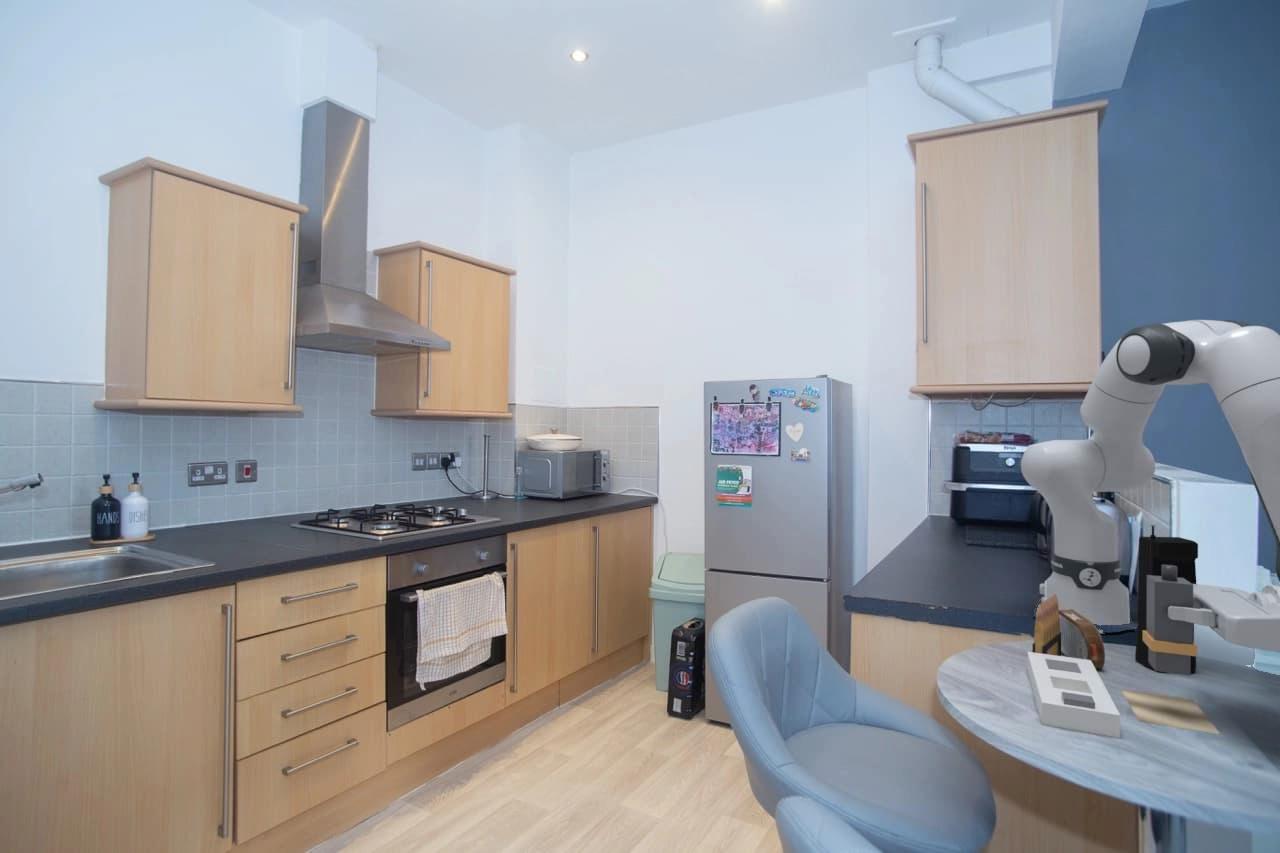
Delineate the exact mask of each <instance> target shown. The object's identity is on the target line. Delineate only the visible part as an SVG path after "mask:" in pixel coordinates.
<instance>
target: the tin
mask: <svg viewBox="0 0 1280 853" xmlns="http://www.w3.org/2000/svg"><path fill="white" fill-rule="evenodd" d="M1059 617H1060V632H1061V655H1062V656H1064V655H1065V656H1064V657H1071V658H1078V659H1086V660H1091V661H1092V663H1093V665H1094V667H1095V669H1096V670H1103V669H1104V666H1105V664H1106V653H1105V652H1106V651H1105V646H1104V642H1103V638H1102V635H1101V633H1099V631H1098V629H1097V628H1096V626H1095V625H1094V624H1093V623H1092V622H1091V621H1089V620H1088V619H1086V618H1085V617H1083V616H1082V615H1080V614H1079V613H1077V612H1076V611H1075V610H1073V609H1069V610H1059Z"/></svg>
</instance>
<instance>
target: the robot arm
mask: <svg viewBox="0 0 1280 853" xmlns="http://www.w3.org/2000/svg"><path fill="white" fill-rule="evenodd" d="M1204 383H1205V384H1206V383H1207V384H1208V385H1209V386H1210V388H1211V389H1212V391H1213V393H1214V395H1215V398H1216V400H1217V401H1218V402H1217V403H1218V404H1219V406H1220V408H1221V410H1222V412H1223V414H1224V416H1225V418H1226V420H1227V422H1228V424H1229V426H1230V429H1231V431H1232V432H1233V434H1234V437H1235V438H1236V441H1237V443H1238V445H1239V447H1240V450H1241V453H1242V456H1243V459H1244V460H1245V463H1246V466H1247V467H1248V470H1249V473H1250V477H1251V480H1252V482H1253V486H1254V489H1255V491H1256V493H1257V496H1258V499H1259V501H1260V503H1261V506H1262V510H1263V511H1264V513H1265V516H1266V519H1267V522H1268V523H1269V526H1270V529H1271V531H1272V534H1273V537H1274V540H1275V546H1276V553H1275V554H1276V556H1275V557H1276V558H1275V572H1276V576H1277V579H1278V581H1279V582H1280V334H1279V333H1277V331H1275V330H1273V329H1271V328H1270V327H1265V326H1262V325H1261V326H1260V325H1252V324H1251V323H1247V322H1243V321H1239V320H1234V319H1233V320H1232V319H1222V320H1214V319H1213V320H1212V319H1189V320H1183V321H1174V322H1166V323H1160V322H1159V323H1157V322H1155V323H1148V324H1145V325H1140V326H1137V327H1134V328H1132V329H1130V330H1128V331H1127V332H1126V333H1125V334H1124V335H1123V336H1122V337H1121V338H1120V339H1119V340H1118V341H1117V342H1116V343H1115V345H1114V346H1113V347H1112V348H1111V350H1110V352H1108V353H1107V355H1106V357H1105V358H1104V360H1103V361H1102V362H1101V365H1100V367H1099V368H1098V370H1097V372H1096V373H1095V376H1094V378H1093V379H1092V382H1091V384H1090V386H1089V389H1088V390H1087V393H1086V394H1085V397H1084V398H1083V399H1084V400H1083V401H1082V403H1081V405H1080V410H1079V412H1080V417H1081V420H1082V422H1083V423H1084V424H1085V426H1086V427H1087V428H1088V429H1090V430H1091V431H1092V432H1093V433H1092V434H1091V436H1090V437H1089V438H1087V439H1052V440H1047V441H1042V442H1039V443H1038V442H1037V443H1034V444H1031V445H1029V446H1028V447H1027V448H1026V449H1025V450H1024V452H1023V454H1022V457H1021V459H1020V470H1021V474H1022V477H1023V478H1024V480H1025V481H1026V483H1027V484H1029V486H1031V487H1032V488H1034V489H1035V490H1036V491H1037V492H1038V493H1039V494H1040V495H1041V496H1042V497H1043V498H1044V500H1045V501H1046V503H1047V506H1048V507H1049V510H1050V513H1051V516H1052V521H1053V530H1054V532H1053V533H1054V552H1053V554H1052V556H1051V557H1052V559H1051V570H1052V573H1051V575H1050V576H1049V577H1048V578H1046V580H1045V581H1044V582H1043V583H1040V584H1039V594H1040V595H1044V596H1042V597H1041V598H1040V600H1041V602H1044V601H1045V600H1047V599H1048V598H1050V597H1051V596H1053V595H1054V594H1055V595H1056V597H1057V600H1058V609H1059V610H1069V609H1073V610H1075V611H1076V612H1077V613H1079V614H1080V615H1082V616H1083V617H1085V618H1086V619H1088V620H1089V621H1091V622H1092V623H1093V624H1097V625H1100V626H1101V625H1109V626H1110V625H1122V624H1129V623H1130V619H1131V616H1130V615H1131V613H1130V610H1131V609H1130V591H1129V588H1128V587H1127V586H1126V585H1124V584H1123V583H1122V582H1121V581H1120V578H1121V570H1122V568H1121V567H1122V566H1121V561H1120V560H1119V558H1118V553H1119V552H1118V550H1119V549H1118V547H1119V546H1118V544H1119V541H1118V540H1119V538H1118V537H1119V534H1118V533H1119V527H1118V524H1117V522H1116V520H1115V519H1114V518H1113V517H1112V516H1111V515H1109V514H1108V513H1106V512H1105V511H1102V510H1100V509H1099V508H1098V507H1097V506H1096V503H1095V500H1094V497H1093V492H1099V493H1100V492H1101V493H1102V492H1103V493H1104V492H1105V493H1106V492H1113V493H1114V492H1115V493H1116V492H1117V493H1118V492H1125V491H1131V490H1135V489H1139V488H1143V487H1145V486H1147V485H1148V484H1149V483H1150V482H1151V481H1152V479H1153V478H1154V476H1155V472H1156V461H1155V458H1154V456H1153V454H1152V452H1151V451H1150V449H1149V448H1148V447H1147V446H1145V444H1144V440H1143V435H1144V431H1145V428H1146V425H1147V423H1148V421H1149V418H1150V416H1151V415H1152V413H1153V411H1154V409H1155V407H1156V406H1157V403H1158V401H1159V400H1160V397H1161V396H1162V395H1163V391H1164V390H1165V388H1166V386H1167V385H1168V386H1171V385H1172V386H1192V385H1197V384H1204ZM1166 615H1167V616H1168V617H1169V618H1170V619H1172V620H1181V621H1186V622H1190V623H1194V625H1198V626H1204V627H1209V629H1211V630H1212V631H1213V632H1215V633H1216V634H1217V635H1218V636H1220V638H1222V639H1223V640H1224V641H1226V642H1227V643H1229V644H1233V645H1236V646H1240V647H1244V648H1248V649H1249V648H1250V649H1255V650H1260V651H1261V650H1262V651H1265V652H1266V651H1267V652H1272V653H1273V652H1274V653H1277V654H1278V653H1280V585H1279V584H1278V585H1277V584H1267V585H1265V586H1264V587H1263V588H1262V589H1261V591H1260V592H1252V593H1249V592H1248V591H1246V590H1243V589H1239V588H1232V587H1225V586H1215V585H1207V584H1197V583H1196V584H1193V608H1187V607H1182V606H1179V605H1167V606H1166ZM1098 631H1099V633H1100V634H1104V633H1103V630H1100V629H1099V630H1098Z"/></svg>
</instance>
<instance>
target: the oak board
mask: <svg viewBox="0 0 1280 853" xmlns="http://www.w3.org/2000/svg"><path fill="white" fill-rule="evenodd" d="M1120 691H1121V693H1122V694H1123V696H1124V698H1125V700H1126V702H1127V703H1128V704H1129V706H1130V708H1131V710H1132V711H1133V713H1134V714H1135V716H1136V718H1137V719H1138V721H1139V722H1142V723H1148V724H1154V725H1159V726H1167V727H1170V728H1171V727H1173V728H1179V729H1185V730H1191V731H1197V732H1203V733H1209V734H1213V735H1214V734H1216V735H1222V734H1221V732H1220V731H1219V730H1218V728H1217V727H1216V726H1215V725H1214V724H1213V722H1212V721H1211V720H1210V719H1209V718H1208V716H1207V715H1206V714H1205V713H1204V712H1203V710H1202V709H1201V708H1200V706H1198V705H1197V703H1196V702H1195V701H1194V699H1190V698H1183V697H1179V696H1178V697H1176V696H1169V695H1163V694H1156V693H1150V692H1143V691H1137V690H1136V691H1135V690H1128V689H1123V688H1120Z"/></svg>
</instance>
